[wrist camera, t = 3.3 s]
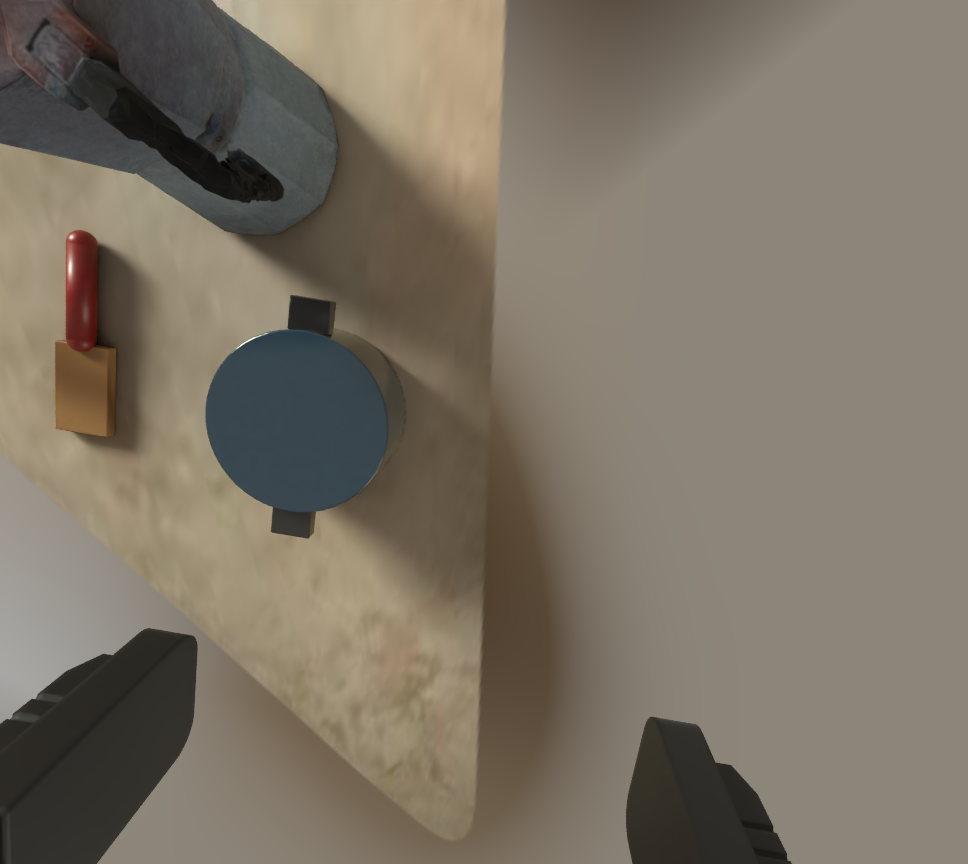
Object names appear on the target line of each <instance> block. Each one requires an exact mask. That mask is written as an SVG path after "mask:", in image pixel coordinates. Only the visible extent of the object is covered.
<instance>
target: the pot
mask: <svg viewBox="0 0 968 864" xmlns="http://www.w3.org/2000/svg"><path fill="white" fill-rule="evenodd" d="M335 310H336V302H335V301H328V300H322V299H316V298H309V297H303V296H297V295H291V296H290V306H289V318H288V329H286V330H277V331H272V332H267V333H264V334H261V335H258V336H256V337H254V338H252V339H250V340H248V341H246V342H244V343H243V344H241V345H240V346H239V347H237V348H236V349H235V350H234V351H233V352H232V353H230V354H229V355H228V356H227V358H226V359H225V360H224V361H223V363H222V364H221V365H220V367H219V368H218V370H217V372H216V374H215V375H214V378H213V380H212V383H211V385H210V388H209V392H208V396H207V402H206V427H207V433H208V437H209V441H210V444H211V447H212V449H213V452H214V454H215V456H216V458H217V460H218V462H219V463H220V465H221V467H222V468H223V470H224V471H225V472H226V474H227V475H228V476H229V477H230V478H231V479H232V481H233V482H234V483H235V484H236V485H237V486H238V487H240V488H241V489H242V490H243V491H244V492H246V493H247V494H249V495H250V496H252V497H253V498H255V499H256V500H258V501H260V502H262V503H264V504H266V505H269V506H272V507H273V514H272V526H271V532H272V533H278V534H284V535H290V536H296V537H302V538H310V536H311V535H312V534H313V533H314V525H315V515H316V511H322V510H326V509H330V508H333V507H336V506H338V505H340V504H343V503H345V502H346V501H348V500H350V499H351V498H353V497H354V496H356V495H357V494H358V493H359V492H360V491H362V490H363V489H364V488H365V487H366V486H367V484H368V483H369V482H370V481H371V480H372V479H373V478H374V477H375V475H376V474H377V473H378V472H379V471H380V470H381V468H382V467H383V466H384V465H385V464H386V463H387V461H388V460H389V459H390V458H391V456H392V455H393V453H394V452H395V450H396V448H397V446H398V444H399V442H400V439H401V436H402V433H403V429H404V424H405V413H406V411H405V400H404V395H403V390H402V387H401V384H400V381H399V379H398V377H397V375H396V373H395V371H394V369H393V368H392V366H391V365H390V363H389V362H388V360H387V359H386V358H385V357H384V356H383V355H382V353H381V352H379V351H378V350H377V349H376V348H375V347H374V346H373V345H371V344H370V343H369V342H367V341H366V340H364V339H362V338H361V337H359V336H357V335H355V334H352V333H350V332H347V331H344V330H340V329H336V328H334V320H335Z"/></svg>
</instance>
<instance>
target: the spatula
mask: <svg viewBox="0 0 968 864" xmlns="http://www.w3.org/2000/svg"><path fill="white" fill-rule="evenodd" d="M97 303H98V243H97V240H96V239H95V237H94V236H93V235H92V234H90V233H88V232H86V231H82V230H76V231H73V232H71V233H70V234H69V235H68V236H67V239H66V340H57V341H55V401H56V429H60V430H66V431H72V432H78V433H84V434H90V435H97V436H103V437H109V436H112V435H115V394H116V348H111V347H105V346H99V345H96V343H97Z"/></svg>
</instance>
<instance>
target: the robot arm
mask: <svg viewBox="0 0 968 864" xmlns="http://www.w3.org/2000/svg"><path fill="white" fill-rule="evenodd" d="M196 666H197V641H196V639H195V637H194V636H191V635H185V634H179V633H173V632H168V631H162V630H156V629H151V628H148V629H145V630H143V631H141V632H140V633H139V634H137V635H136V636H135V637H134V638H133V639H132V640H130V641H129V642H128V643H127V644H126V645H125V646H123V647H122V648H121V649H120V650H119V651H118V652H116V653H115V654H114V655H107V654H102V655H100V656H98V657H96V658H94V659H91V660H89V661H87V662H85V663H83V664H81V665H79V666H77V667H74V668H72V669H70V670H68V671H66V672H65V673H64V674H62V675H61V676H60V677H59V678H57V679H56V680H55V681H54V682H52V683H51V684H50V685H49V686H47V687H46V688H45V689H44V690H42V691H41V692H40V693H39V694H38V696H37V698H36V699H31V700H30V701H29V702H27V703H26V704H25V705H23V706H22V707H21V708H20V709H19V710H18V711H16V712H15V713H14V714H13V716H12V718H11V719H10V720H9V719H6V720H5V721H3V722H2V723H1V724H0V864H97V863H98V861H99V860H100V859H101V857H102V856H103V855H104V853H105V852H106V851H107V850H108V848H109V847H110V845H111V844H112V843H113V842H114V840H115V839H116V838H117V836H118V835H119V834H120V832H121V831H122V830H123V829H124V827H125V826H126V825H127V823H128V822H129V821H130V819H131V818H132V817H133V815H134V814H135V813H136V812H137V810H138V809H139V808H140V806H141V805H142V804H143V802H144V801H145V800H146V798H147V797H148V796H149V795H150V793H151V792H152V791H153V789H154V788H155V787H156V785H157V784H158V783H159V781H160V780H161V779H162V777H163V776H164V775H165V774H166V772H167V771H168V770H169V768H170V767H171V766H172V764H173V763H174V762H175V760H176V759H177V758H178V756H179V755H180V753H181V751H182V749H183V747H184V746H185V743H186V741H187V739H188V736H189V733H190V730H191V727H192V723H193V718H194V702H195V684H196ZM626 829H627V838H628V843H629V849H630V853H631V858H632V863H633V864H791V862H790V861H787V853H786V851H785V850H784V847H783V845H782V843H781V841H780V839H779V837H778V835H777V833H774V832H773V825H772V823H771V821H770V819H769V817H768V815H767V813H766V811H765V809H764V807H763V805H762V803H761V801H760V798H759V796H758V795H757V793H756V792H755V791H754V790H753V789H752V788H751V787H750V786H749V784H748V783H747V782H746V781H745V780H744V779H743V778H742V777H741V776H740V775H739V773H738V772H737V771H736V770H735V769H734V768H733V767H732V766H731V765H727V764H720V763H715V760H714V758H713V756H712V754H711V751H710V749H709V747H708V745H707V742H706V740H705V738H704V735H703V733H702V731H701V729H700V728H699V726H697V725H696V724H690V723H685V722H679V721H673V720H667V719H661V718H656V717H650V718H649V719H648V720H647V722H646V725H645V727H644V732H643V736H642V739H641V744H640V748H639V752H638V756H637V760H636V764H635V769H634V772H633V777H632V781H631V785H630V789H629V793H628V799H627V809H626Z"/></svg>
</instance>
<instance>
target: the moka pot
mask: <svg viewBox="0 0 968 864" xmlns="http://www.w3.org/2000/svg"><path fill="white" fill-rule="evenodd" d="M0 143H1V144H6V145H10V146H15V147H19V148H23V149H28V150H32V151H37V152H41V153H46V154H50V155H55V156H59V157H63V158H68V159H72V160H76V161H81V162H85V163H89V164H93V165H97V166H102V167H106V168H110V169H114V170H119V171H123V172H128V173H132V174H135V173H137V174H138V175H140V176H141V177H143V178H144V179H146V180H147V181H148V182H150V183H152V184H154V185H155V186H156V187H158V188H159V189H161V190H162V191H164V192H165V193H167V194H169V195H170V196H172V197H173V198H175V199H176V200H178V201H180V202H181V203H183V204H184V205H186V206H187V207H189V208H190V209H192V210H193V211H195V212H196V213H198V214H199V215H201V216H202V217H204V218H205V219H207V220H209V221H210V222H212V223H213V224H215V225H217V226H218V227H220V228H221V229H223V230H224V231H228V232H233V233H242V234H277V233H280V232H282V231H284V230H286V229H288V228H290V227H292V226H293V225H295V224H296V223H297V222H299V221H300V220H302V219H303V218H305V217H306V216H308V215H309V214H310V213H311V212H312V211H314V210H315V209H316V208H318V207H319V206H321V205H322V203H323V202H324V200H325V197H326V194H327V192H328V190H329V187H330V183H331V180H332V178H333V174H334V170H335V166H336V159H337V152H338V139H337V134H336V130H335V126H334V123H333V119H332V116H331V112H330V109H329V106H328V103H327V100H326V98H325V94H324V91H323V89H322V88H321V87H320V86H319V85H318V84H317V83H316V82H315V81H314V80H313V79H312V78H310V77H309V76H308V75H307V74H305V73H304V72H303V71H302V70H300V69H299V68H298V67H296V66H295V65H294V64H293V63H291V62H290V61H289V60H288V59H286V58H285V57H284V56H283V55H282V54H280V53H279V52H278V51H277V50H275V49H274V48H273V47H272V46H270V45H269V44H267V43H266V42H265V41H263V40H262V39H260V38H259V37H258V36H256V35H255V34H254V33H253V32H251V31H250V30H249V29H247V28H245V27H244V26H242V25H241V24H240V23H238V22H237V21H236V20H234V19H233V18H232V17H231V16H229V15H228V14H227V13H225V12H224V11H223V10H222V9H220V8H218V7H217V6H216V4H215V3H214V2H213V1H212V0H0Z"/></svg>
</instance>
